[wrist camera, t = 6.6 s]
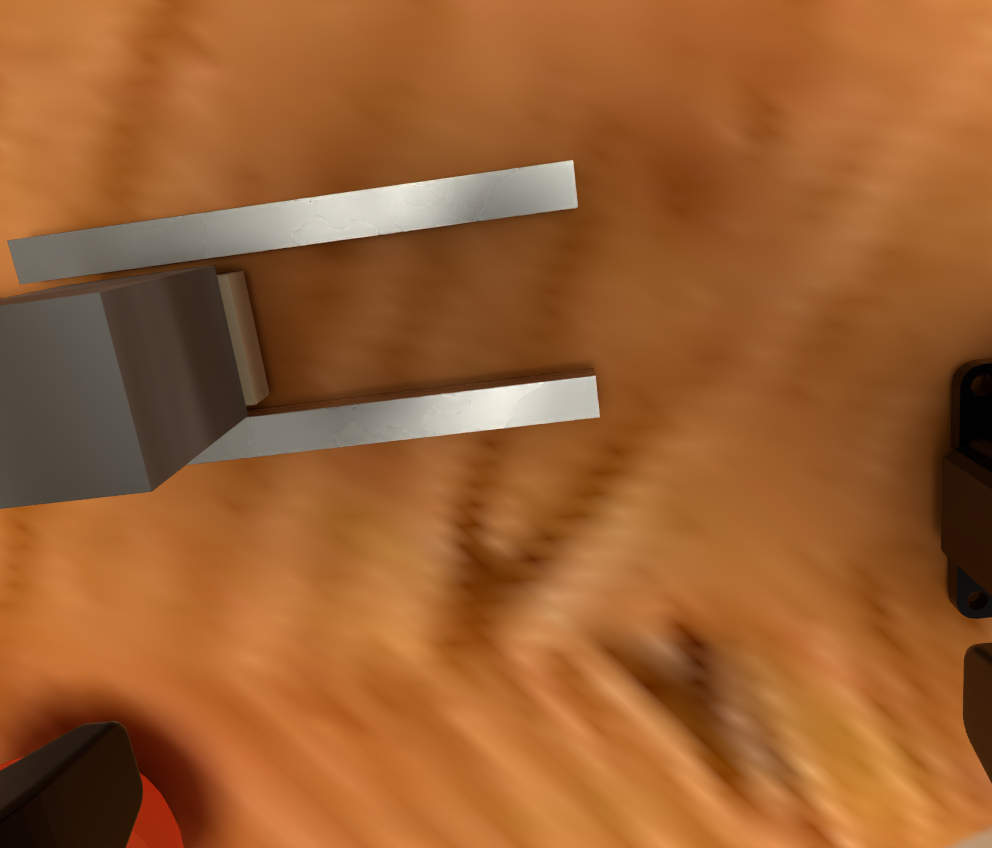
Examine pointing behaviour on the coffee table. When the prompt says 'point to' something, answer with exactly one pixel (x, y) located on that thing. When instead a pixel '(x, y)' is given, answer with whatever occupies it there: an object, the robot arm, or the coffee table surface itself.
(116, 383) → the kicker
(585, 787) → the coffee table surface
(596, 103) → the coffee table surface
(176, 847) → the clementine
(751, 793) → the coffee table surface
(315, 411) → the track
